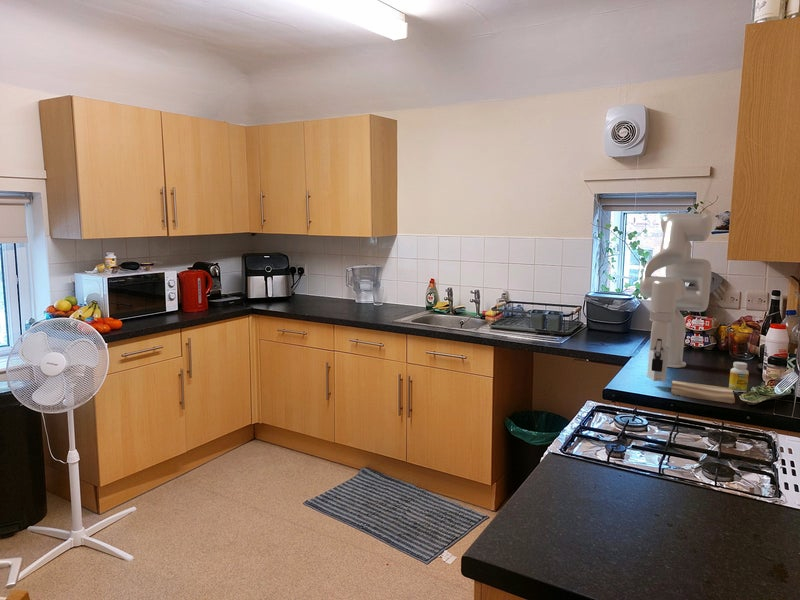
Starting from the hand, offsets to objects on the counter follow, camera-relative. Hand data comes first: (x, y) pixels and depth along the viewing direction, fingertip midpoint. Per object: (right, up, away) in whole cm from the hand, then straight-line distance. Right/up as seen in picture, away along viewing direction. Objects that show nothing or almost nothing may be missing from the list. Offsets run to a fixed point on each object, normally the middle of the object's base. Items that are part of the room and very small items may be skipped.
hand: (657, 368), depth 198 cm
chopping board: (+12, -8, -6) cm, 15 cm away
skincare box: (0, -4, +1) cm, 4 cm away
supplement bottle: (+27, -8, -1) cm, 28 cm away
